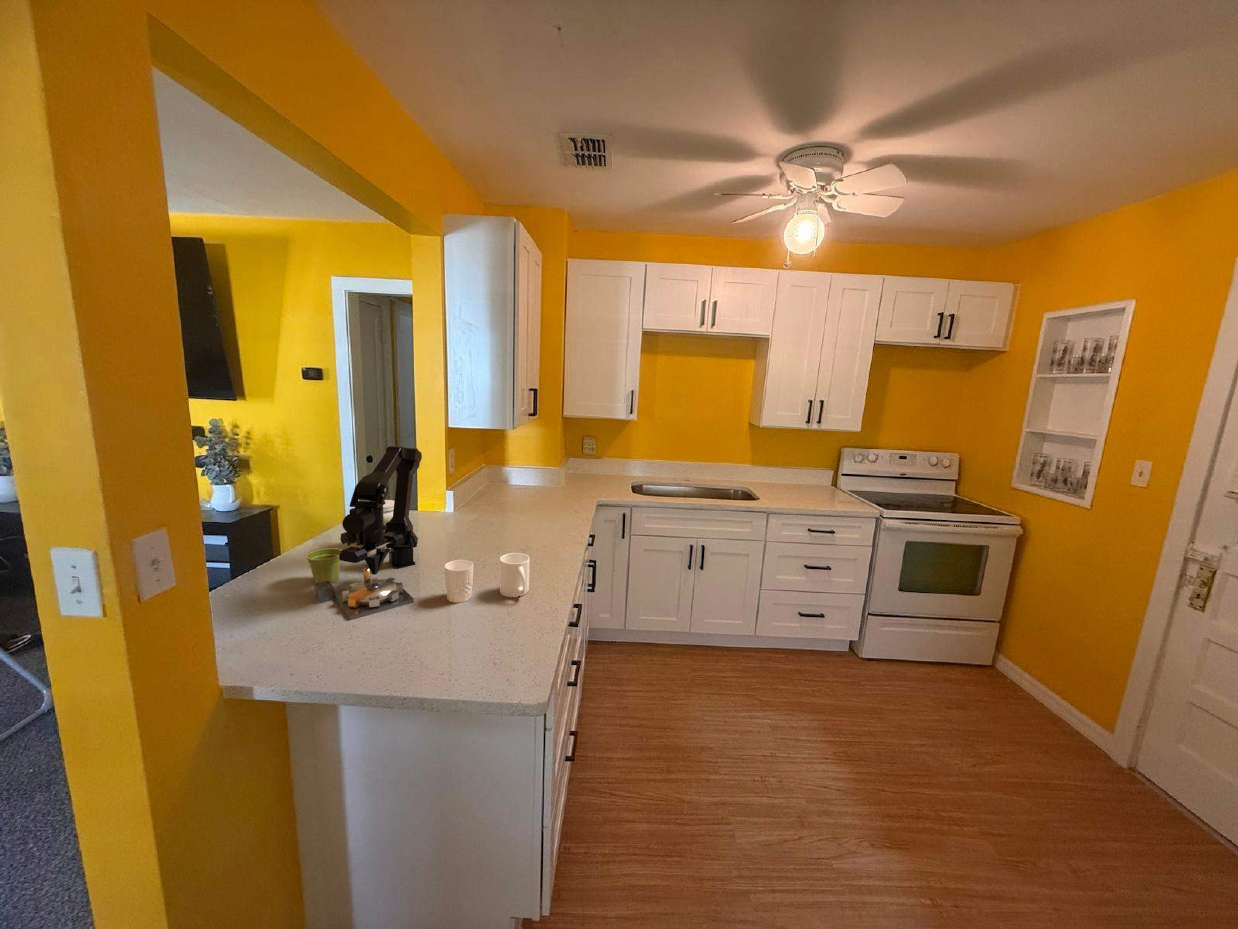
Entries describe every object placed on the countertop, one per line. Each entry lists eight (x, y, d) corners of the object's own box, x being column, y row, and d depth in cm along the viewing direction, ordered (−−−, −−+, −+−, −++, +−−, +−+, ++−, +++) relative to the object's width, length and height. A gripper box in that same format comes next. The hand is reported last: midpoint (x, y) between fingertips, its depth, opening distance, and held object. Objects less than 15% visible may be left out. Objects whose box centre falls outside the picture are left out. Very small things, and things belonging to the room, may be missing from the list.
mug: (509, 605, 130) (509, 570, 128) (495, 588, 139) (496, 555, 138) (537, 599, 134) (538, 564, 132) (522, 583, 144) (523, 551, 142)
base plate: (393, 582, 140) (393, 579, 140) (413, 602, 129) (413, 598, 128) (333, 597, 129) (333, 594, 129) (349, 620, 117) (349, 616, 117)
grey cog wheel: (392, 579, 139) (391, 560, 138) (411, 597, 128) (410, 577, 127) (336, 592, 128) (335, 572, 127) (351, 613, 118) (350, 591, 117)
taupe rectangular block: (329, 593, 131) (328, 580, 130) (334, 600, 127) (333, 586, 127) (315, 597, 129) (314, 583, 128) (319, 603, 125) (318, 590, 124)
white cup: (479, 594, 135) (479, 562, 133) (461, 606, 128) (461, 572, 126) (457, 589, 138) (456, 558, 136) (438, 600, 130) (438, 567, 129)
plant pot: (327, 589, 133) (325, 561, 132) (299, 585, 135) (297, 557, 133) (351, 576, 142) (350, 550, 141) (325, 572, 144) (324, 546, 142)
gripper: (374, 511, 143) (376, 559, 146) (321, 528, 125) (324, 582, 128) (404, 516, 140) (405, 564, 143) (354, 534, 122) (357, 589, 125)
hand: (374, 574), depth 135 cm, fingers closed
